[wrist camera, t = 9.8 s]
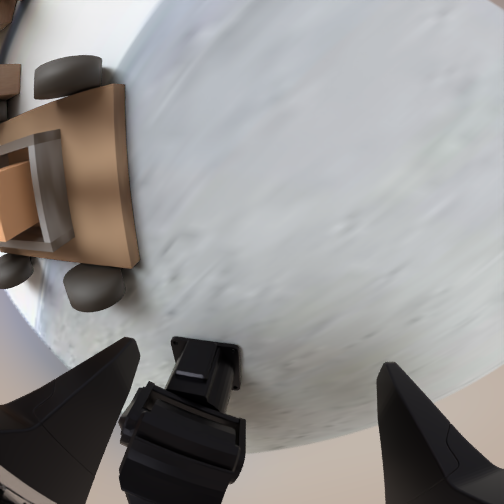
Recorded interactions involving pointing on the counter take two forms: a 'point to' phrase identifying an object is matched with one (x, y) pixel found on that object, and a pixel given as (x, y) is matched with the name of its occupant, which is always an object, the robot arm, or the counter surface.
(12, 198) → the orange block
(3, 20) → the wooden toy
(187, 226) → the counter surface
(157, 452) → the robot arm
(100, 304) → the chassis
